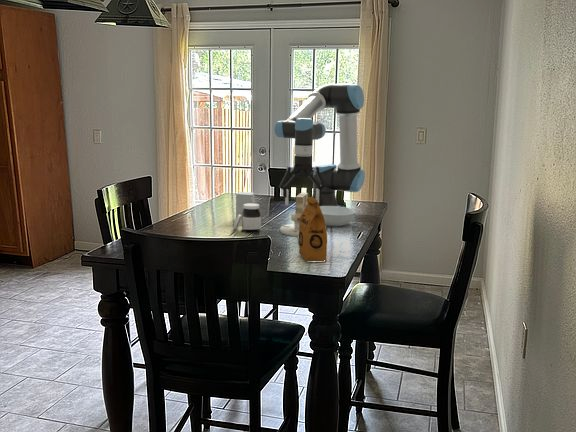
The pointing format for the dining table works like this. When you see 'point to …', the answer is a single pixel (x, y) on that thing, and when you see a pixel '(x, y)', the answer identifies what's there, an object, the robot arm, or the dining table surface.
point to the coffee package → (312, 232)
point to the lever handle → (300, 206)
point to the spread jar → (249, 218)
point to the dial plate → (291, 229)
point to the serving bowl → (337, 215)
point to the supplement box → (243, 201)
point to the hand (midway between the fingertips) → (302, 204)
